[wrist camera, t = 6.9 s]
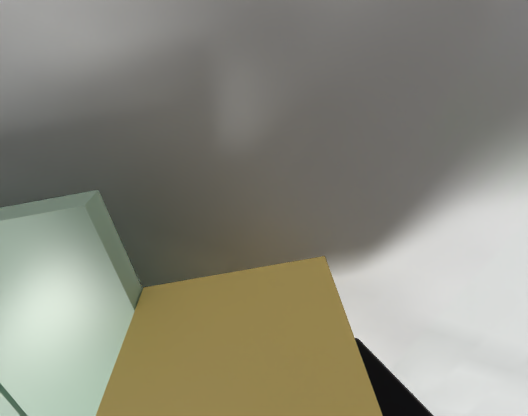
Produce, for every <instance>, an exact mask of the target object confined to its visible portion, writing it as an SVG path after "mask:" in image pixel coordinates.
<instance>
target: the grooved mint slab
mask: <svg viewBox="0 0 528 416" xmlns="http://www.w3.org/2000/svg"><path fill="white" fill-rule="evenodd" d="M0 416H383V415H382V412H381V410H380V407H379V404H378V401H377V399H376V396H375V393H374V390H373V388H372V385H371V382H370V379H369V377H368V374H367V371H366V368H365V366H364V363H363V360H362V357H361V355H360V352H359V349H358V346H357V344H356V341H355V338H354V335H353V333H352V330H351V327H350V324H349V321H348V319H347V316H346V313H345V310H344V308H343V305H342V302H341V299H340V297H339V294H338V291H337V288H336V286H335V283H334V280H333V277H332V275H331V272H330V269H329V266H328V264H327V261H326V258H325V256H322V257H316V258H310V259H304V260H299V261H293V262H287V263H281V264H276V265H270V266H264V267H258V268H252V269H247V270H241V271H235V272H229V273H224V274H218V275H212V276H206V277H201V278H195V279H189V280H183V281H178V282H172V283H166V284H160V285H154V286H149V287H143V289H142V287H141V285H140V283H139V280H138V278H137V276H136V274H135V271H134V269H133V267H132V265H131V262H130V260H129V258H128V256H127V253H126V251H125V249H124V246H123V244H122V242H121V240H120V237H119V235H118V233H117V231H116V228H115V226H114V224H113V222H112V219H111V217H110V215H109V213H108V210H107V208H106V206H105V203H104V201H103V199H102V197H101V194H100V192H99V190H94V191H89V192H83V193H78V194H72V195H67V196H61V197H56V198H50V199H45V200H39V201H34V202H28V203H23V204H17V205H12V206H6V207H1V208H0Z"/></svg>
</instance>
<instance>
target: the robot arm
mask: <svg viewBox="0 0 528 416" xmlns="http://www.w3.org/2000/svg"><path fill="white" fill-rule="evenodd" d="M355 341H356V344H357V346H358V349H359V352H360V355H361V357H362V360H363V363H364V366H365V368H366V371H367V374H368V377H369V379H370V382H371V385H372V388H373V390H374V393H375V396H376V399H377V401H378V404H379V407H380V410H381V412H382V415H383V416H433V415H432V414H431V413H430V412H429V411H428V410H427V409H426V407H425V406H424V405H423V404H422V403H421V402H420V401H419V400H418V399H417V398H416V397H415V396H414V395H413V394H412V393H411V392H410V391H409V390H408V389H407V388H406V387H405V386H404V385H403V384H402V383H401V382H400V381H399V380H398V379H397V378H396V377H395V376H394V375H393V374H392V373H391V372H390V371H389V370H388V369H387V368H386V367H385V366H384V364H383V363H382V362H381V361H380V360H379V359H378V358H377V357H376V356H375V355H374V354H373V353H372V352H371V351H370V350H369V349H368V348H367V347H366V346H365V345H364V344H363V343H362V342H361V341H360V340H359V339H357V338H355Z"/></svg>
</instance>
